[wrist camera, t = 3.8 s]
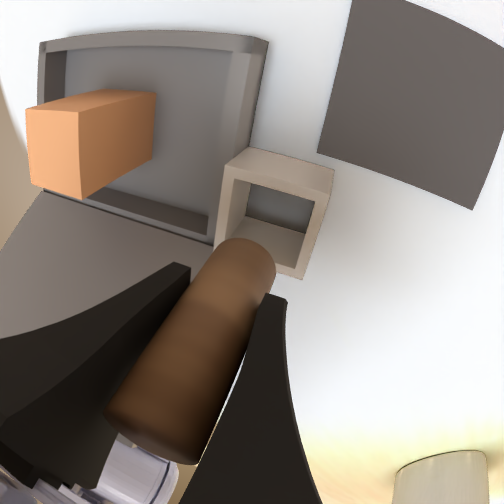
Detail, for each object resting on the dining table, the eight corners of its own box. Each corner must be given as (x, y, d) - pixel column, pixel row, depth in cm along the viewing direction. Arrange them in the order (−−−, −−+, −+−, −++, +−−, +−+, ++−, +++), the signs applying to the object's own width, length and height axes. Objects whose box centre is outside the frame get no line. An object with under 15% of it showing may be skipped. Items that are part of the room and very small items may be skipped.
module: (151, 159, 17) (81, 200, 12) (101, 148, 18) (31, 184, 13) (156, 92, 15) (78, 112, 10) (103, 88, 16) (25, 109, 11)
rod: (269, 300, 12) (199, 473, 6) (210, 282, 12) (115, 435, 7) (282, 248, 11) (198, 444, 5) (215, 230, 11) (91, 393, 5)
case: (288, 312, 21) (226, 490, 11) (73, 235, 24) (-33, 329, 14) (362, 63, 12) (425, 15, 2) (67, 39, 15) (-103, 80, 4)
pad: (470, 208, 14) (472, 210, 14) (317, 151, 15) (316, 152, 15) (519, 59, 9) (521, 59, 9) (355, -14, 10) (355, -15, 10)
